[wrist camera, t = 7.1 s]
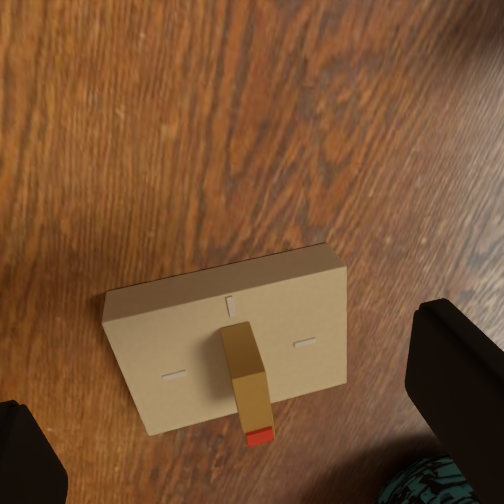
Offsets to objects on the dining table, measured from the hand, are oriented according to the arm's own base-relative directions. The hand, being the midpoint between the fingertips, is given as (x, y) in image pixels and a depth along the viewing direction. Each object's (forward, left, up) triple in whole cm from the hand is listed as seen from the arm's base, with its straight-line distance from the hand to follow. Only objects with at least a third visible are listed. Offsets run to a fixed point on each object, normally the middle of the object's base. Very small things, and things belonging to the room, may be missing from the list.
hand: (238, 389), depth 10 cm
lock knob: (+1, -11, -11) cm, 16 cm away
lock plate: (+1, -11, -14) cm, 18 cm away
